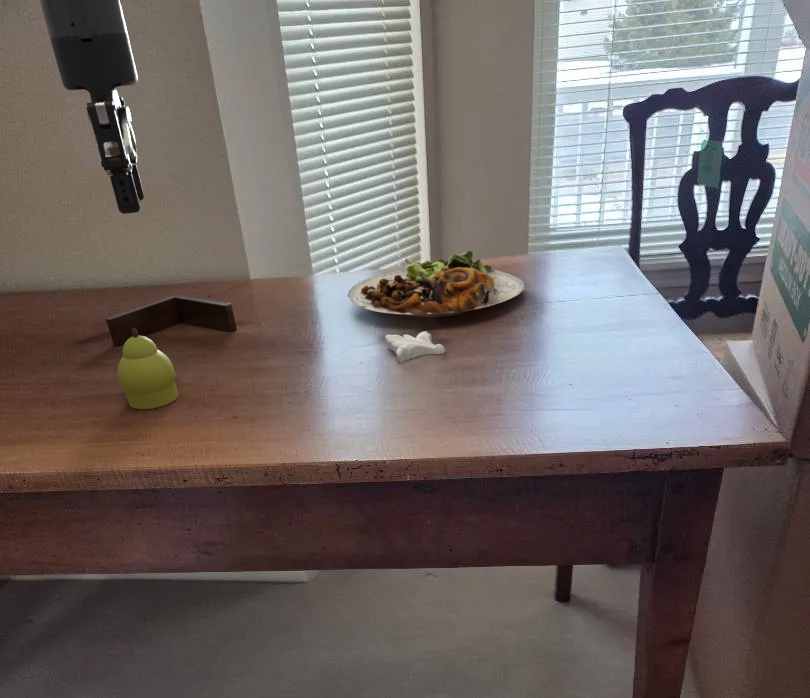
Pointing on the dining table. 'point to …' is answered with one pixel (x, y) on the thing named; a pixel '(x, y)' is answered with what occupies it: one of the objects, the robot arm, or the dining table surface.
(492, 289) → the plate of food
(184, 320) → the corner fence
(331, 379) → the dining table surface
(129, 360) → the pear
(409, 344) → the acanthus leaf ornament
